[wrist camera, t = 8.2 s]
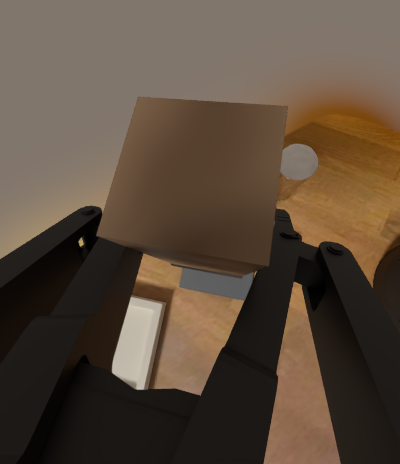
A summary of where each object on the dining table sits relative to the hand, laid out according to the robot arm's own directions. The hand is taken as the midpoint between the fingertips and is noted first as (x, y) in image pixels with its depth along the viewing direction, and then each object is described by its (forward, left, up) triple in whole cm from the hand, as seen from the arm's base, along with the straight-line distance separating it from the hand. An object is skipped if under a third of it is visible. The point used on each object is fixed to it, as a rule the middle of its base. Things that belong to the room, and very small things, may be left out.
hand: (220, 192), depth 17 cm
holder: (+12, +18, -16) cm, 27 cm away
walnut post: (0, +4, -4) cm, 6 cm away
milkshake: (-7, -8, -16) cm, 19 cm away
